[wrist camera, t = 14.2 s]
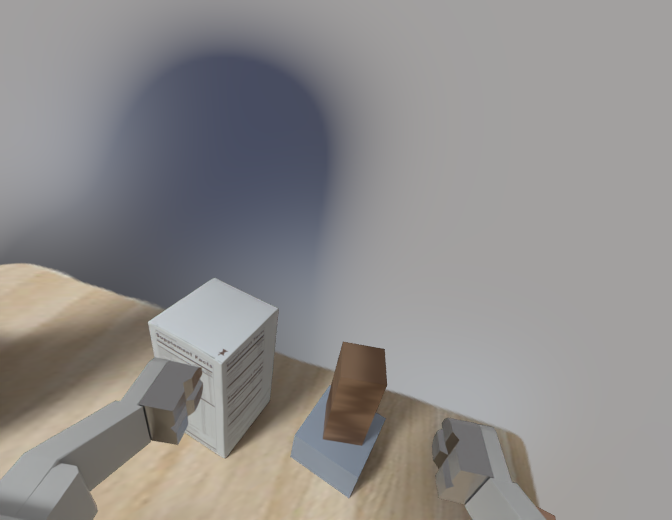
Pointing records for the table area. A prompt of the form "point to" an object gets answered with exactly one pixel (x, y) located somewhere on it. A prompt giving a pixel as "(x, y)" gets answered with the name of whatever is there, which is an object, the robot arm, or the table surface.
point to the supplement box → (221, 358)
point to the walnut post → (354, 393)
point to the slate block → (332, 450)
